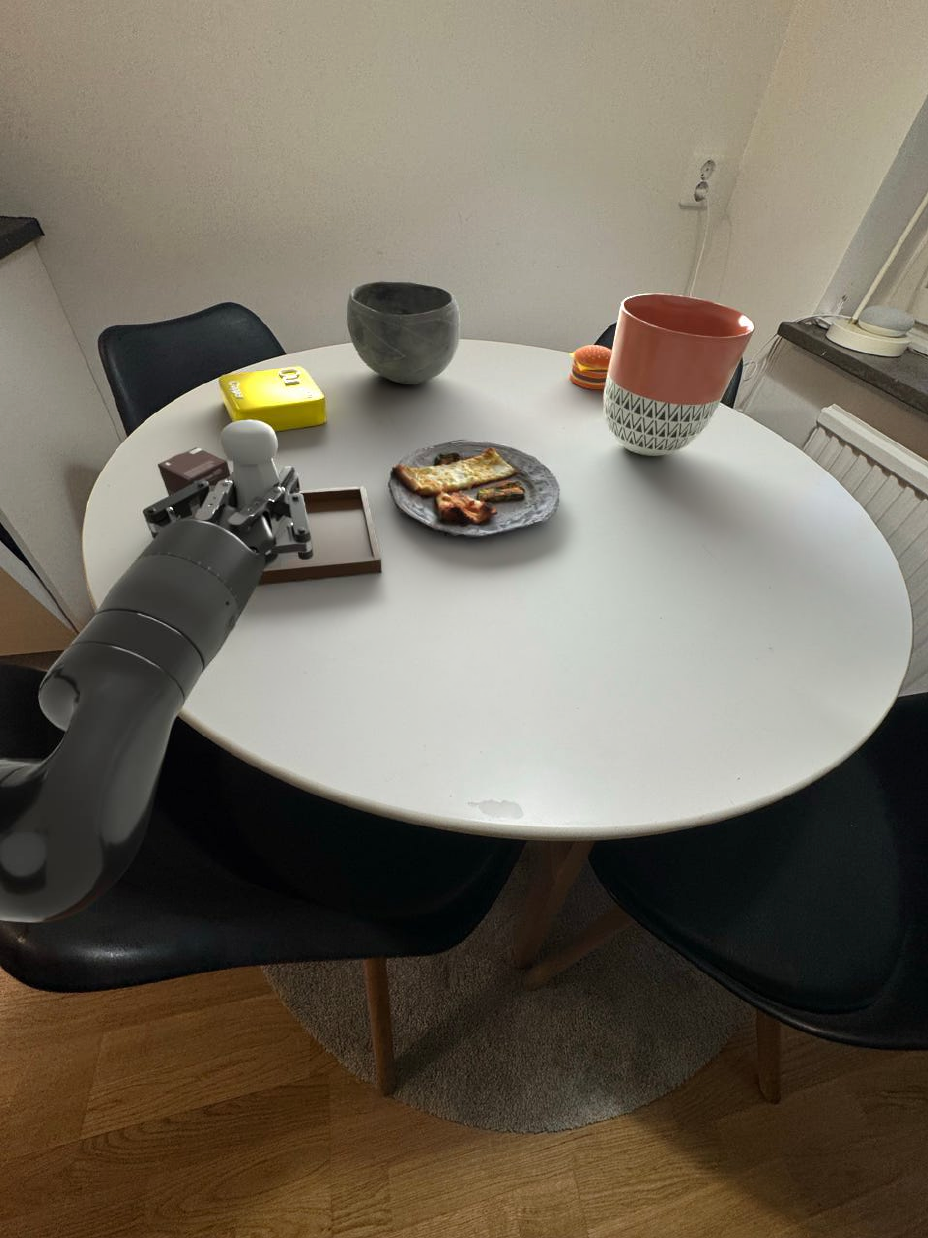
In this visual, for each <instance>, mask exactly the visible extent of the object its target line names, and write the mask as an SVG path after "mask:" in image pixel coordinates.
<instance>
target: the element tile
mask: <svg viewBox="0 0 928 1238" xmlns="http://www.w3.org/2000/svg"><path fill="white" fill-rule="evenodd" d="M218 384H219V388H220V393H221V397H222V400H223V404H224V406H225V408H226V410H227V413H228V415H229V417H230V419H231V422H232V423H233V422H237V421H240V420H257V421H261V422H263V423H266V424H267V425H269V426H270V427H271V428H272V429H273V431H274V432H275V433H276V432H284V431H291V430H296V429H302V428H310V427H317V426H321V425H323V424H324V423H326V422H327V418H328V417H327V409H326V408H327V407H326V399H325V395H324V394H323V392H322V391H321V389H320V388H319V387H318V385H317V384H316V383H315V381H314V380H313V379H312V377H311V376H310V375H309V373H308V372H307V370H305V369H304V368H302V367H301V366H292V367H281V368H271V369H264V370H255V371H247V372H237V373H229V374H228V373H227V374H222V375H221V376H220V377H219V378H218Z"/></svg>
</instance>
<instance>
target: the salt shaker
mask: <svg viewBox="0 0 928 1238" xmlns="http://www.w3.org/2000/svg"><path fill="white" fill-rule="evenodd" d="M219 438H220V445H221V449H222V452H223V453H224V455H225V456H226V458H227V459H228V461H230V462H232V472H233V477H234V486H235V487H236V492H237V502H238V504H237V505H238V509H240V508H244V507H245V506H246V505H247V504H248V503H249V502H251V501H252V500H253V499H254V498H255V497H256V496H258V497H263V496H264V495H265V494H266V493H267V492H268V491H269V490H270V489H271V488H272V487H273V485H275V484H276V483H278V482H279V474H280V473H279V472H278V470H277V467H276V464H275V461H274V460H273V459H274V458H275V457H276V456H277V453H278V447H279V444H278V437H277V435H276V432H274V431H273V429H272V428H271V427H270V426H269V425H267V424H266V423H263V422H261V421H257V420H240V421H237V422H233V421H232V422H230V423H229V424H227V425H226V426H225V427H224V428H223V429H222V431H221V433H220V436H219ZM288 523H292V519H291V518H289V517H286V518H285V520H284V521H283V522H282V523H281V524H280V525H279V526H278V531H277V534H276V535H275V538H279V537H281V536H282V535H283V532H284V530H286V529H287V524H288ZM296 554H297V552H295V553H287V554H279V555H278V557H277V559H276V560H275V561H274V562H273V563H271V564H270V565H268V566H267V567H266V568H272V567H283V566H284V565H285V564H287V563H288V562H290V561H291V560H293V559H294V558H295V557H296Z"/></svg>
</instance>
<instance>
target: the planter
mask: <svg viewBox="0 0 928 1238" xmlns="http://www.w3.org/2000/svg"><path fill="white" fill-rule="evenodd" d="M620 304H621V305H620V307H619V312H618V318H617V322H616V327H615V333H614V338H613V343H612V347H611V351H612V352H611V357H610V362H609V367H608V372H607V377H606V383H605V388H604V389H603V399H602V400H603V402H602V404H603V416H604V417H603V418H604V420H605V424H606V426H607V429H608V430H609V432H610V434H611V435H612V437H613V438H614V439H615V440H616V441H617V442H618V443H619V444H620V445H621V446H622V447H623V448H625V449H626V450H628V451H630V452H633V453H635V454H637V455H643V456H649V457H658V456H665V455H669V454H673V453H675V452H677V451H679V450H682V449H683V448H685V447H687V446H688V445H690V444H691V443H692V442H694V441H695V440H696V439H697V438H698V437H699V436H700V435H701V434H702V433H703V431H704V430H705V429H706V428H707V426H708V425H709V423H710V421H711V420H712V418H713V417H714V415H715V413H716V412H717V409H718V407H719V405H720V403H721V401H722V399H723V397H724V396H725V393H726V391H727V389H728V387H729V385H730V383H731V381H732V379H733V376H734V374H735V372H736V370H737V368H738V366H739V364H740V362H741V360H742V357H743V355H744V354H745V352H746V349H747V348H748V345H749V343H750V341H751V339H752V336H753V334H754V332H755V329H756V325H755V323H754V321H753V320H752V319H751V318H750V317H748V316H747V315H746V314H744V313H742V312H740V311H739V310H736V309H734V308H732V307H729V306H726V305H723V304H721V303H718V302H714V301H711V300H706V299H703V298H697V297H692V296H686V295H678V294H669V293H644V294H642V293H641V294H636V295H632V296H629V297H626V298H625V299H623V301H622V302H621V303H620Z"/></svg>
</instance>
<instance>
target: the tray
mask: <svg viewBox="0 0 928 1238" xmlns="http://www.w3.org/2000/svg"><path fill="white" fill-rule="evenodd" d="M298 493H299V494H302V495H303V498H304V503H305V509H306V514H307V519H308V524H309V529H310V535H311V542H312V548H313V557H312V558H311V559H308V560H302V559H300V558H299V557H298V553H297V554H296V557H295V558H294V559H293V560H291V561H290V562H288V563H287V564H285V565H284V566H283V567H272V568H264V570H263V572H262V575H261V578H260V581H259V583H258V586H266V585H275V584H284V583H295V582H305V581H313V580H322V579H333V578H341V577H353V576H363V575H371V574H372V575H373V574H381V573H382V559H381V553H380V549H379V544H378V539H377V536H376V530H375V526H374V521H373V517H372V513H371V512H372V511H371V508H370V503H369V499H368V494H367V490H366V485H356V486H343V487H341V486H340V487H326V488H313V489H300V491H299V492H298Z"/></svg>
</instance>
